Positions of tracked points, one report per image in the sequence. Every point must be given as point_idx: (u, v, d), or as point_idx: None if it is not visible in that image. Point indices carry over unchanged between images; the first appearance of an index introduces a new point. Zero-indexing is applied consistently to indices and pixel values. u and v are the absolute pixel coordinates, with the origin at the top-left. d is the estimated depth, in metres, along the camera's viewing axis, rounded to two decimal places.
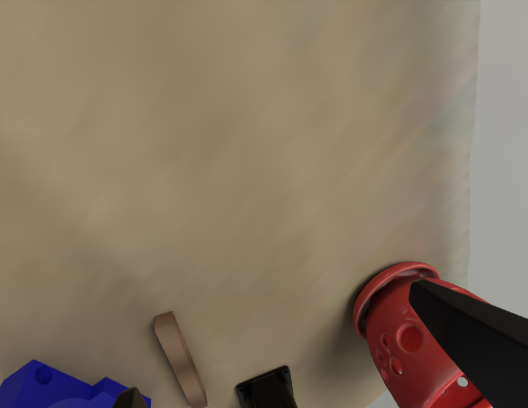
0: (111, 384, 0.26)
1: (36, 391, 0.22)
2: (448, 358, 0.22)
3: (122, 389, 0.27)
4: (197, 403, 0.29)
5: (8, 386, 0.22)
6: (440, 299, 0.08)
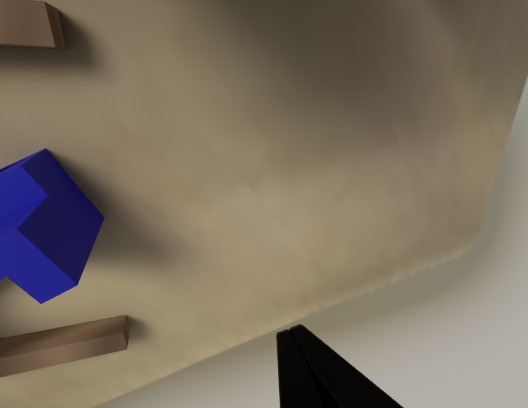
0: None
1: None
2: None
3: None
4: (16, 24, 0.11)
5: None
6: (304, 354, 0.07)
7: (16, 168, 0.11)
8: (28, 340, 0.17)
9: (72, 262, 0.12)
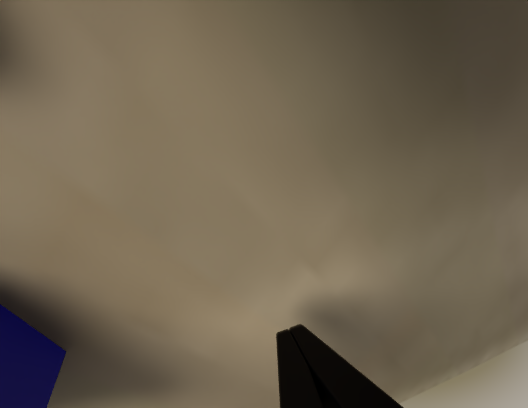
0: None
1: None
2: None
3: None
4: None
5: None
6: (304, 354, 0.07)
7: None
8: None
9: None
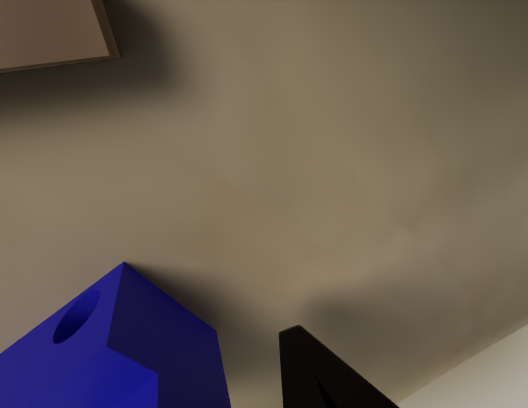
0: None
1: None
2: None
3: (10, 354, 0.08)
4: (17, 13, 0.04)
5: None
6: (301, 355, 0.07)
7: (99, 353, 0.06)
8: None
9: None
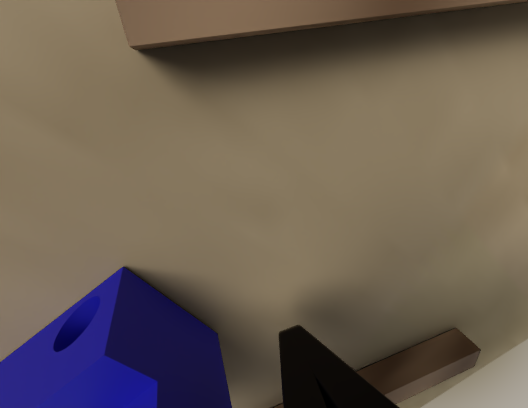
0: None
1: None
2: None
3: (12, 362, 0.08)
4: None
5: None
6: (301, 355, 0.07)
7: (97, 361, 0.06)
8: (385, 371, 0.15)
9: None
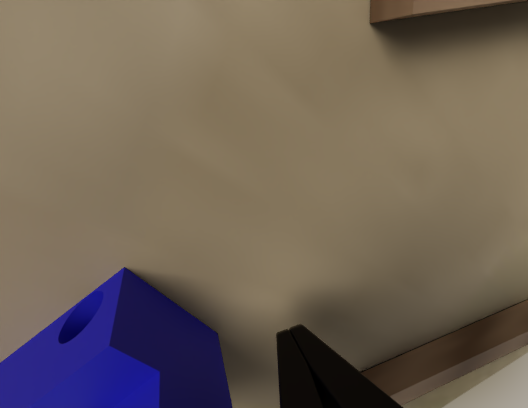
0: None
1: None
2: None
3: (17, 354, 0.08)
4: None
5: None
6: (304, 354, 0.07)
7: (103, 352, 0.06)
8: (479, 332, 0.16)
9: None
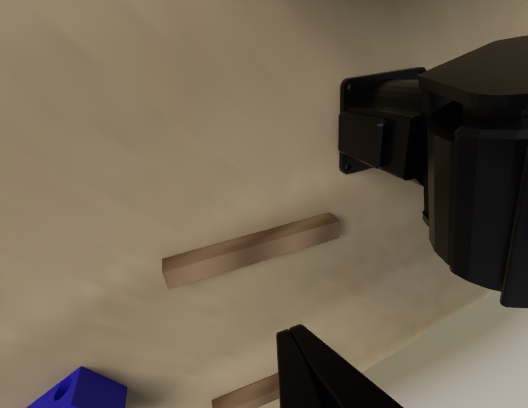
0: None
1: None
2: None
3: (37, 402, 0.21)
4: (326, 233, 0.21)
5: None
6: (304, 354, 0.07)
7: (68, 406, 0.19)
8: None
9: None
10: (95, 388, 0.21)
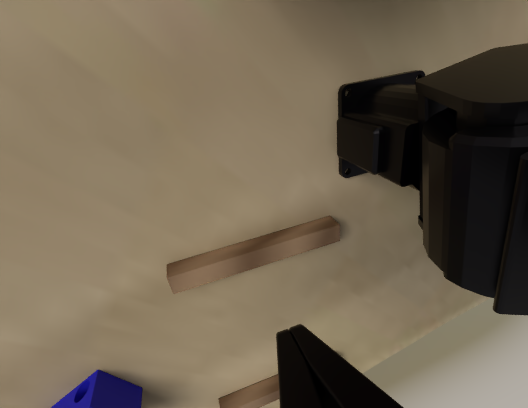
0: None
1: None
2: None
3: (59, 404, 0.22)
4: (327, 237, 0.22)
5: None
6: (304, 354, 0.07)
7: None
8: None
9: None
10: (112, 390, 0.22)
